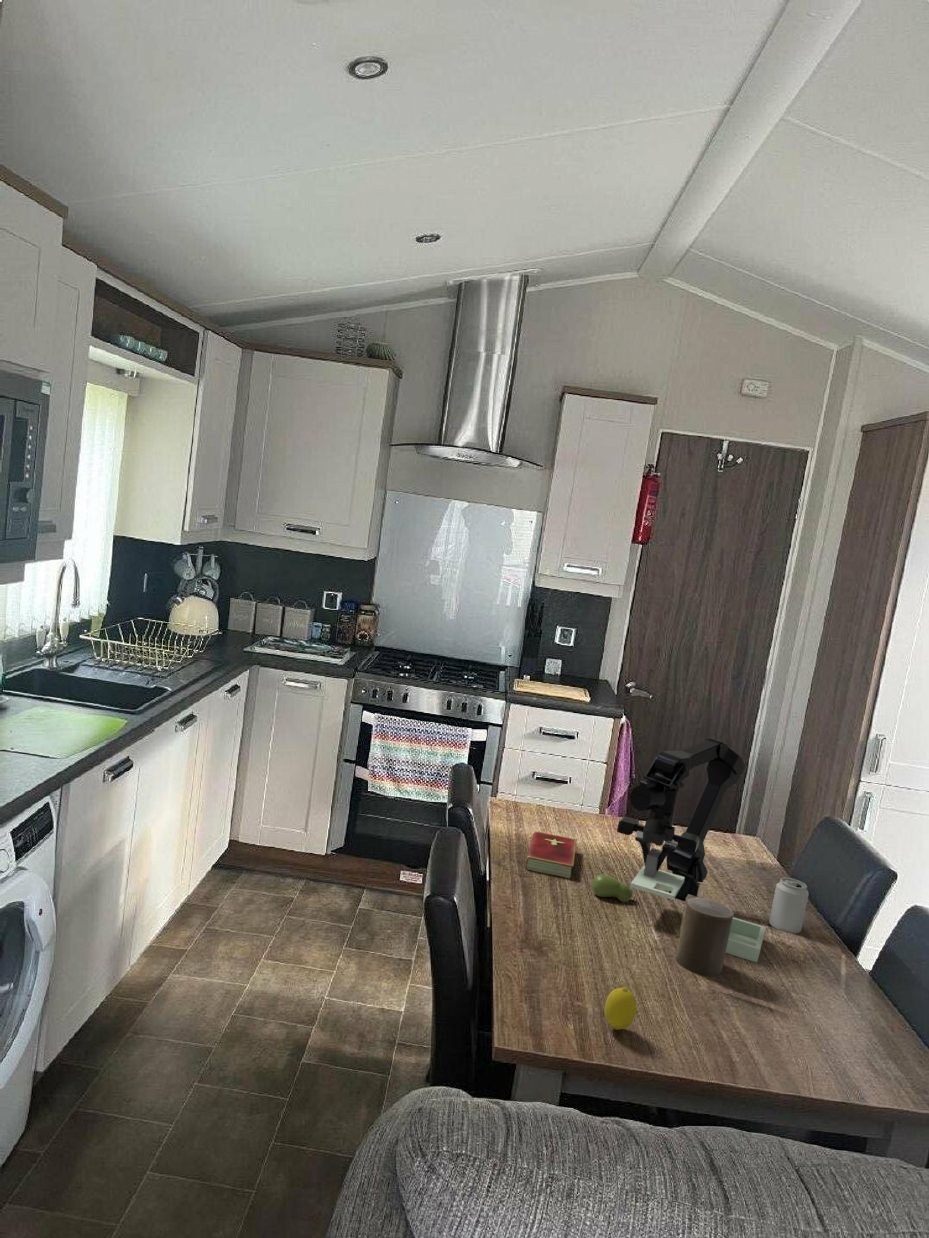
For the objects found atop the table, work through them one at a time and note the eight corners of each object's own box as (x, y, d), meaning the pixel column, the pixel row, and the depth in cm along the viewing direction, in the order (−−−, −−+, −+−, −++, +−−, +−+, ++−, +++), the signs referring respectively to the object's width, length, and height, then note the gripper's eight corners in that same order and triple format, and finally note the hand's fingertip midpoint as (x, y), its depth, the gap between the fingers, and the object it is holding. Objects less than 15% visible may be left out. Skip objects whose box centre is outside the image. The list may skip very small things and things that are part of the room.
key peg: (678, 935, 212) (685, 898, 211) (681, 931, 215) (688, 894, 214) (691, 939, 211) (699, 902, 210) (694, 935, 214) (701, 897, 213)
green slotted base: (630, 887, 214) (634, 862, 214) (643, 869, 227) (647, 845, 227) (673, 900, 211) (678, 874, 210) (684, 881, 224) (688, 857, 223)
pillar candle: (695, 982, 191) (710, 912, 189) (665, 958, 199) (678, 892, 197) (730, 978, 195) (745, 910, 194) (699, 955, 204) (713, 890, 202)
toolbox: (709, 951, 206) (713, 934, 206) (718, 929, 219) (721, 913, 218) (756, 966, 202) (759, 949, 202) (762, 943, 215) (765, 926, 215)
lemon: (598, 1019, 170) (605, 978, 169) (627, 1022, 170) (635, 981, 169) (605, 1036, 164) (613, 994, 163) (635, 1040, 165) (643, 997, 164)
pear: (595, 868, 231) (633, 881, 231) (587, 887, 231) (626, 900, 231) (597, 876, 225) (636, 890, 225) (589, 896, 226) (628, 910, 226)
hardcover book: (524, 871, 238) (526, 855, 237) (531, 844, 258) (533, 829, 258) (570, 880, 236) (573, 864, 236) (574, 852, 257) (576, 838, 256)
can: (802, 939, 221) (812, 891, 220) (770, 931, 223) (779, 883, 221) (797, 926, 229) (807, 879, 227) (766, 919, 230) (775, 873, 229)
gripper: (617, 803, 217) (605, 867, 219) (697, 824, 210) (685, 890, 212) (628, 793, 227) (617, 853, 229) (704, 813, 221) (693, 875, 222)
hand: (651, 868), depth 223 cm, fingers closed on green slotted base, 2 cm apart
